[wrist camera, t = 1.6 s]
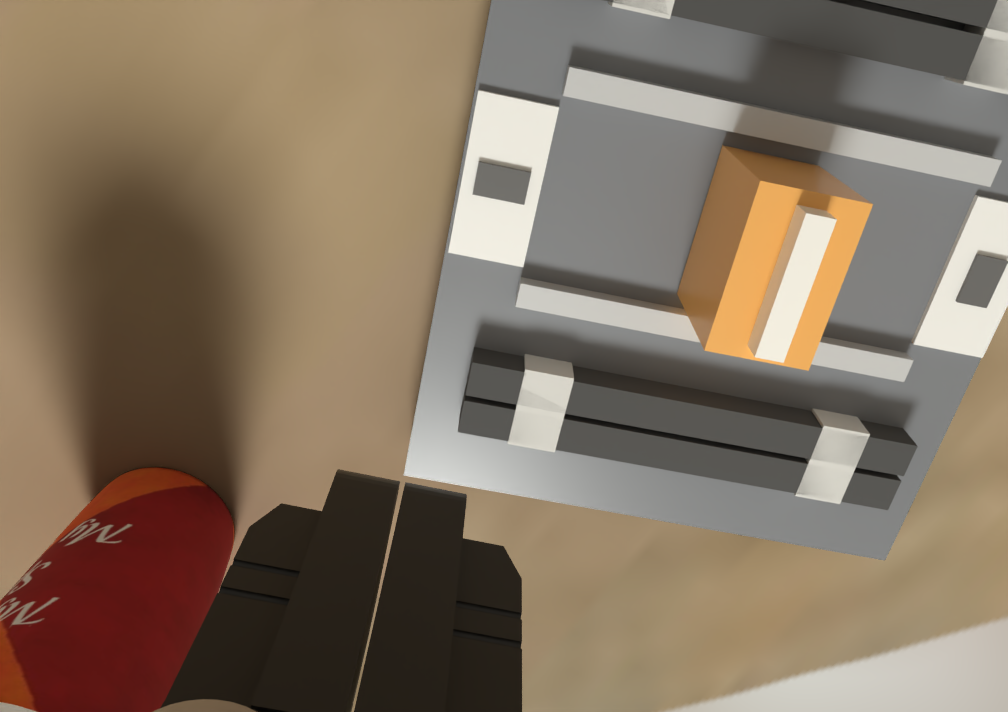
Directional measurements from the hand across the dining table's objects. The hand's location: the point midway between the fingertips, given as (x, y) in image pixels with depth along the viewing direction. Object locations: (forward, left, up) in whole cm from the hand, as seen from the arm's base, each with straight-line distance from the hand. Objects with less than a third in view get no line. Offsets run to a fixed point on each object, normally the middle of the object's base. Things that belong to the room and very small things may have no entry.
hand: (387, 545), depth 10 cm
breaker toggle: (0, +9, -18) cm, 20 cm away
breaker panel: (0, +9, -21) cm, 23 cm away
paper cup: (+17, -9, -21) cm, 28 cm away
